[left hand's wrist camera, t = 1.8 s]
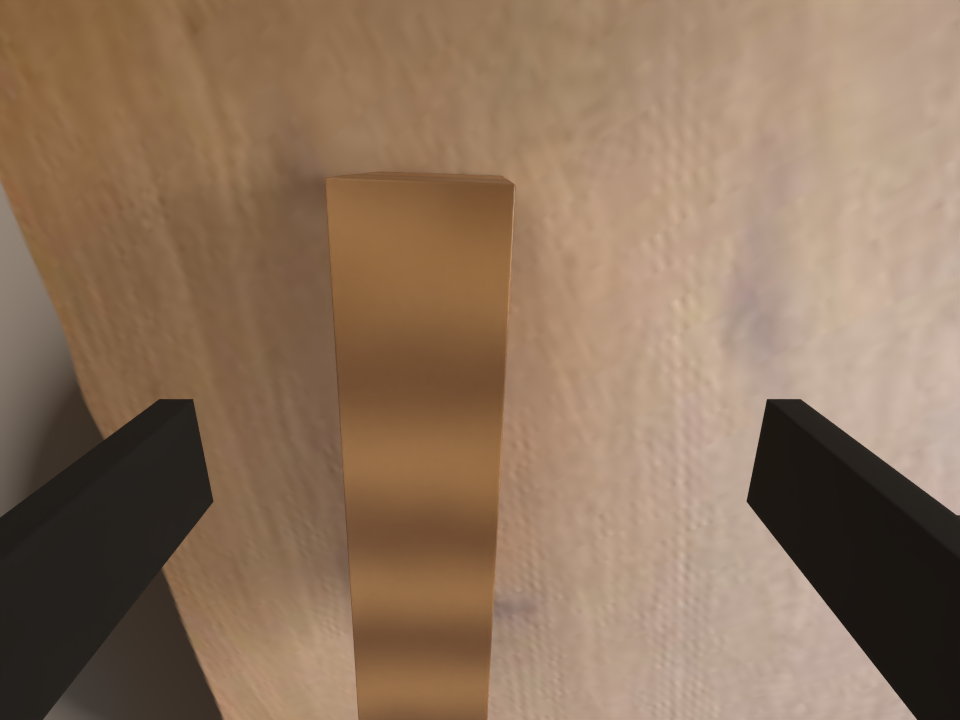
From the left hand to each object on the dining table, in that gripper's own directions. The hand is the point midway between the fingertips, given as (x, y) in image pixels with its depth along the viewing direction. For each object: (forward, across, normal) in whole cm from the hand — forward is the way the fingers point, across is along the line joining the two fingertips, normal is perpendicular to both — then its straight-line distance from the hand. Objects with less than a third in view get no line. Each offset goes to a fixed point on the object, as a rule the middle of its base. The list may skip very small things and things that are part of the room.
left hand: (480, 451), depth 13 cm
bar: (+16, -2, -6) cm, 17 cm away
